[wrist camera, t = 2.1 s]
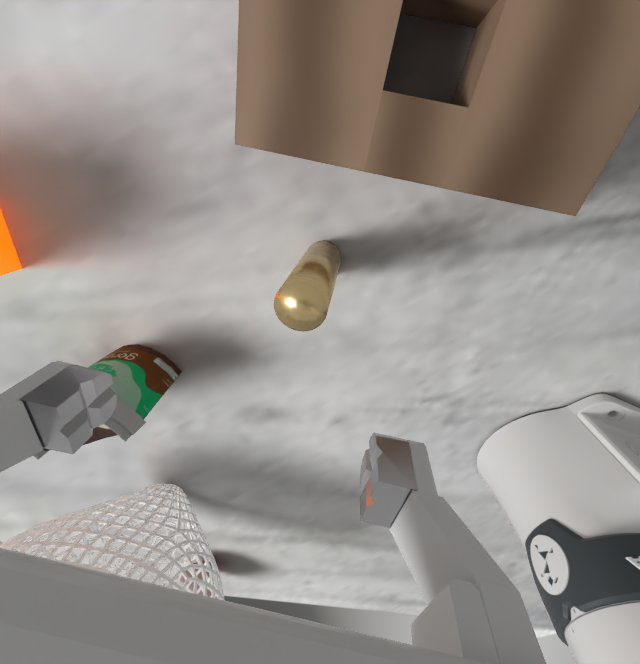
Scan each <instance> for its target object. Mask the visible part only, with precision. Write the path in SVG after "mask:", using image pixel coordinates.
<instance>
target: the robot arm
mask: <svg viewBox="0 0 640 664" xmlns="http://www.w3.org/2000/svg"><path fill="white" fill-rule="evenodd" d="M112 384H113V380H112V376H111V374H109V373H106V372H102V371H99V370H95V369H91V368H87V367H83V366H79V365H74V364H70V363H66V362H62V361H56V362H52V363H50V364H48V365H47V366H45V367H43V368H42V369H40V370H39V371H37V372H35V373H34V374H32V375H31V376H29V377H27V378H26V379H24V380H23V381H21V382H19V383H18V384H16V385H15V386H13V387H11V388H10V389H8V390H7V391H5V392H3V393H2V394H0V472H1V471H3V470H5V469H7V468H9V467H11V466H13V465H15V464H17V463H19V462H21V461H23V460H25V459H27V458H29V457H31V456H33V455H35V454H37V453H39V452H41V451H42V450H44V449H43V448H45V449H50V450H55V451H60V452H65V453H70V454H74V453H75V452H76V451H77V450H78V449H79V448H80V447H81V446H82V445H83V444H84V443H85V442H86V441H87V440H88V439H89V438H90V437H91V436H92V433H93V428H96V427H98V426H100V425H103V424H104V423H105V422H106V421H107V420H108V419H109V418H110V417H111V416H112V414H113V412H114V410H115V408H116V403H117V398H116V394H115V393H114V391H113V390H112V389H111V388H110V386H111V385H112ZM369 444H370V449H368V450H366V451H365V454H364V457H363V460H362V465H361V474H360V483H361V485H362V486H363V488H364V490H363V492H362V494H361V497H360V521H364V522H368V523H372V524H376V525H380V526H383V527H387V528H390V532H391V534H392V536H393V538H394V540H395V542H396V544H397V546H398V548H399V550H400V551H401V553H402V555H403V557H404V559H405V561H406V563H407V565H408V567H409V569H410V571H411V573H412V575H413V577H414V579H415V581H416V583H417V585H418V587H419V589H420V591H421V593H422V595H423V597H424V599H425V601H426V603H427V605H428V606H427V607H426V608H425V609H424V610H423V612H422V613H421V614H420V615H419V616H418V617H417V618H416V619H415V620H414V622H413V623H412V624H411V633H412V642H413V645H409V644H405V643H401V642H397V641H393V640H388V639H384V638H380V637H376V636H371V635H367V634H363V633H359V632H354V631H350V630H346V629H342V628H338V627H333V626H329V625H325V624H321V623H317V622H312V621H308V620H304V619H300V618H295V617H291V616H287V615H283V614H278V613H274V612H270V611H266V610H261V609H257V608H253V607H249V606H245V605H241V604H236V603H232V602H227V601H224V600H219V599H215V598H211V597H207V596H203V595H198V594H194V593H190V592H186V591H181V590H177V589H173V588H169V587H165V586H160V585H156V584H152V583H148V582H143V581H139V580H135V579H131V578H127V577H122V576H118V575H114V574H110V573H105V572H101V571H97V570H93V569H88V568H84V567H80V566H76V565H72V564H67V563H63V562H59V561H55V560H50V559H46V558H42V557H38V556H34V555H29V554H25V553H21V552H17V551H12V550H8V549H4V548H0V664H546V662H545V659H544V657H543V654H542V652H541V649H540V646H539V643H538V641H537V638H536V635H535V632H534V630H533V627H532V624H531V622H530V619H529V616H528V614H527V611H526V608H525V606H524V603H523V600H522V598H521V595H520V592H519V591H518V590H517V589H516V587H515V586H514V585H513V584H512V582H511V581H510V580H509V579H508V577H507V576H506V575H505V574H504V572H503V571H502V570H501V569H500V567H499V566H498V565H497V564H496V562H495V561H494V560H493V559H492V558H491V556H490V555H489V554H488V553H487V551H486V550H485V549H484V548H483V546H482V545H481V544H480V543H479V541H478V540H477V539H476V538H475V536H474V535H473V534H472V533H471V531H470V530H469V529H468V528H467V526H466V525H465V524H464V523H463V521H462V520H461V519H460V518H459V516H458V515H457V514H456V513H455V511H454V510H453V509H452V508H451V506H450V505H449V504H448V503H447V502H446V500H445V499H444V498H443V497H440V496H438V494H437V490H436V486H435V482H434V478H433V474H432V470H431V465H430V461H429V457H428V453H427V449H426V446H425V445H424V443H419V442H415V441H410V440H405V439H401V438H396V437H392V436H387V435H383V434H378V433H373V434H372V436H371V438H370V441H369ZM477 469H478V472H479V474H480V476H481V478H482V479H483V481H484V482H485V483H486V485H487V486H488V487H489V489H490V490H491V492H492V493H493V495H494V496H495V498H496V499H497V501H498V503H499V505H500V507H501V509H502V510H503V512H504V513H505V515H506V516H507V518H508V520H509V522H510V524H511V526H512V527H513V529H514V531H515V533H516V535H517V537H518V538H519V540H520V542H521V544H522V546H523V548H524V549H525V551H526V553H527V555H528V559H529V563H530V566H531V569H532V573H533V576H534V580H535V583H536V586H537V588H538V591H539V593H540V596H541V598H542V600H543V603H544V605H545V607H546V610H547V613H548V615H549V617H550V620H551V621H552V623H553V626H554V628H555V630H556V632H557V635H558V637H559V638H560V639H561V640H562V642H564V643H565V644H566V645H567V646H569V648H570V651H571V653H572V655H573V657H574V660H575V662H576V664H640V408H638V407H636V406H633V405H631V404H629V403H626V402H624V401H622V400H620V399H617V398H615V397H613V396H610V395H607V394H596V395H592V396H589V397H586V398H584V399H582V400H579V401H577V402H575V403H573V404H571V405H569V406H567V407H563V408H559V409H555V410H549V411H544V412H539V413H535V414H531V415H528V416H525V417H522V418H519V419H517V420H515V421H513V422H511V423H509V424H507V425H505V426H503V427H502V428H500V429H499V430H497V431H496V432H495V433H494V434H492V435H491V436H490V437H489V438H488V439H487V440H486V442H485V443H484V444H483V446H482V447H481V449H480V451H479V454H478V457H477Z"/></svg>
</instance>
